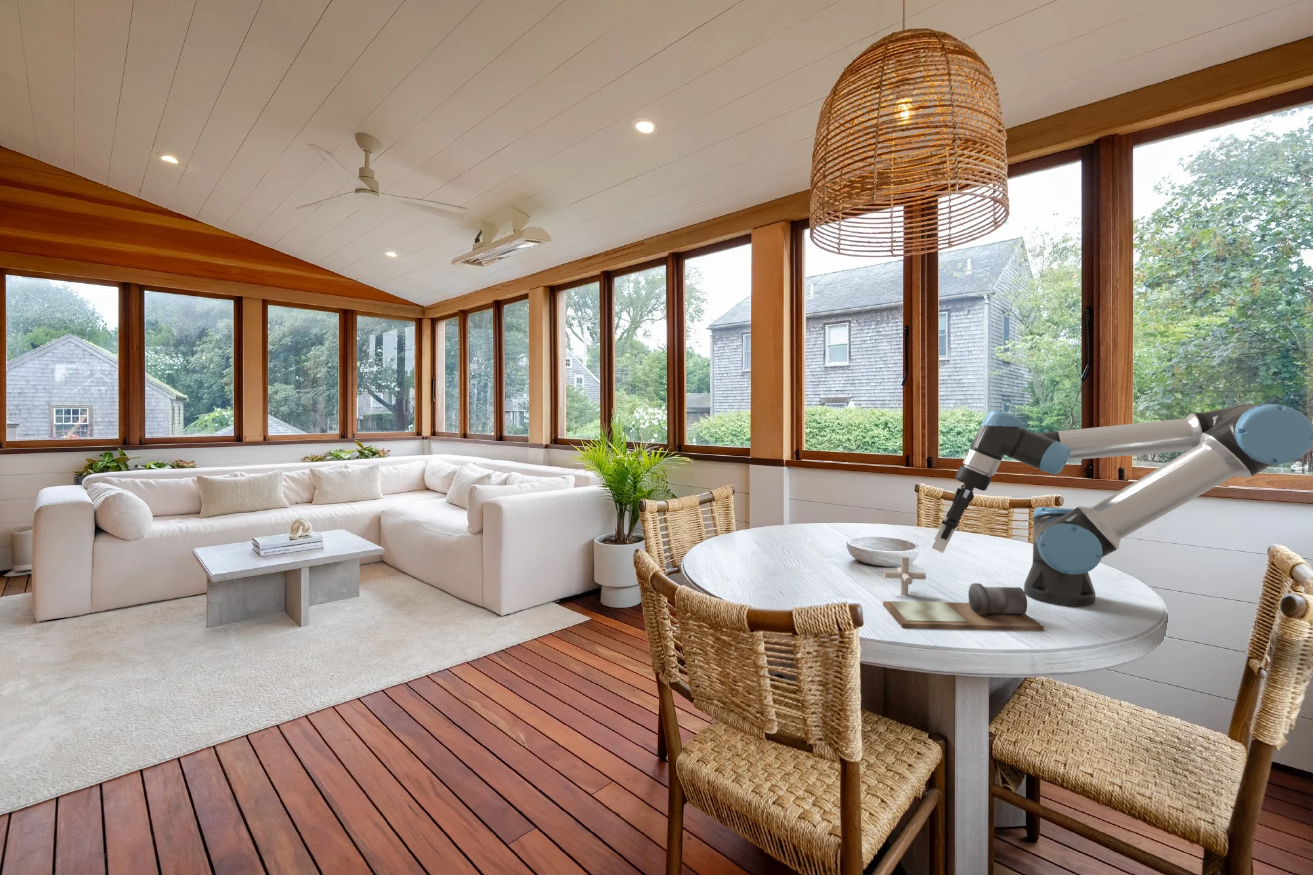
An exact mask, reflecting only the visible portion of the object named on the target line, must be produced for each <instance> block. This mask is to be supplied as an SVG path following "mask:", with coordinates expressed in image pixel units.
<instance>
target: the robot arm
mask: <svg viewBox="0 0 1313 875" xmlns="http://www.w3.org/2000/svg"><path fill="white" fill-rule="evenodd" d="M1021 424H1022V420H1021V419H1020V418H1019V417H1017V416H1014V415H1011V414H1010V413H1006V412H1004V411H1000V410H997V409H992V410H990V411H988V412H987V414H986V416H985V418H984V419H983V421H982V423H981V425H980V426H979V428H978V430H977V433H976V435H975V436H974V439H973V440H972V441H971V442H972V443H971V444H970V447H969V450H968V451H964V452H963V456H965V457H964V458H963V461H962V464H963V465H961V466H959V468H958V470H957V472H956V474H955V476H954V478H955V479H956V480H957V481H958V482H960V483H963V484H962V485H960V488H959V487H957V489H956V491H955V494H954V498H953V499H952V504H951V506H950V508H949V510H948V511H947V512H946V513H947V514H946V516H945V517H944V519H942V521H941V525H940V527H939V529H938V531H937V533H936V536H935V537H934V542H933V544H932V546H931V548H932V549H933V550H935V551H937V552H940V553H942V554H944V552H945V551H946V548H947V546H948V544H949V542H950V540H951V538H952V536H953V534H954V532H955V530H956V529H957V527H958V526H959V525H958V524H959V522H960V520H961V519H962V517H963V514H964V512H965V510H967V509H968V507H969V505H970V503H971V502H972V501H973V499H974V497H975V495H974V489H976V490H980V491H982V492H983V491H986V490H988V487H989V485H990V484H991V481H992V478H991V476H992V477H993V476H995V474H996V472H997V470H998V468H999V467H1000V465H1001V462H1002V460H1003V458H1004V456H1006V457H1007V458H1010V459H1014V460H1016V461H1018V462H1020V463H1022V464H1025V465H1028V466H1030V467H1033V468H1035V469H1037V470H1039V471H1041V472H1046V473H1049V474H1051V475H1058V474H1060V473H1061V472H1062V470H1063V469H1064V467H1065V466H1066V465H1067V462H1068V461H1074V460H1089V459H1098V458H1099V459H1102V458H1112V457H1126V456H1127V457H1128V456H1140V455H1142V456H1143V455H1151V454H1152V455H1153V454H1165V453H1166V454H1167V453H1179V452H1180V453H1182V452H1183V453H1182V454H1180V455H1179V456H1177V457H1175V458H1173V459H1171V460H1170V461H1169V462H1166V463H1165V464H1163V465H1161V466H1159V467H1158V468H1156V469H1155V470H1153V471H1151V472H1149V473H1148V474H1146V475H1145V476H1143V477H1140V478H1139V479H1138V480H1135V482H1132V483H1131V484H1129V485H1126V486H1125V487H1123V488H1122V489H1120V490H1119V491H1117V492H1116V493H1113V494H1112V495H1110V496H1108V497H1107V498H1105V499H1103V500H1101V501H1100V502H1098V503H1096V504H1094V505H1093V506H1090V507H1087V506H1080V505H1079V506H1077V507H1076V508H1068V507H1067V508H1066V507H1052V506H1051V507H1050V506H1039V507H1036V508H1035V509H1034V511H1033V515H1032V520H1033V526H1032V527H1033V529H1032V530H1033V532H1032V533H1033V536H1032V538H1033V540H1032V563H1031V564H1032V565H1031V567H1030V570H1029V572H1028V574H1027V577H1026V580H1025V581H1024V585H1023V587H1024V589H1023V591H1024V593H1025V595H1026V596H1028V597H1030V598H1032V599H1035V600H1037V601H1040V602H1045V603H1049V604H1054V605H1061V606H1070V607H1074V606H1075V607H1085V606H1086V607H1087V606H1092V605H1094V604H1095V603H1096V591H1095V587H1094V585H1093V582H1092V579H1091V577H1090V574H1089V572H1090V571H1092V570H1094V569H1095V568H1096V567H1097V566H1098V565H1099V564H1100V562H1101V561H1102V558H1104V557H1106V556H1108V555H1110V554H1111V553H1113V552H1115V551H1117V550H1119V548H1120V542H1121V540H1122V539H1123V538H1125V537H1127V536H1128V535H1130V534H1132V533H1134V532H1136V531H1138V530H1139V529H1142V528H1143V527H1145V526H1146V525H1149V524H1151V523H1152V522H1154V521H1156V520H1157V519H1159V518H1161V517H1163V516H1165V515H1167V514H1169V513H1171V512H1172V511H1174V510H1176V509H1178V508H1179V507H1181V506H1183V505H1185V504H1187V503H1188V502H1190V501H1192V500H1194V499H1195V498H1198V497H1199V496H1201V495H1202V494H1205V493H1207V492H1208V491H1210V490H1212V489H1214V488H1215V487H1217V486H1220V485H1221V484H1223V483H1225V482H1227V481H1229V480H1230V479H1232V478H1236V477H1239V478H1240V477H1241V478H1251V477H1253V476H1255V475H1257V474H1259V473H1261V472H1262V471H1264V470H1266V469H1268V468H1269V467H1272V466H1273V465H1283V464H1287V463H1291V462H1293V461H1296V460H1298V459H1300V458H1301V457H1303V456H1304V455H1306V454H1307V453H1308V452H1309V450H1310V449H1311V448H1312V446H1313V424H1312V422H1311V421H1310V419H1309V418H1308V417H1307V416H1306V415H1305V414H1304V413H1303V412H1300V411H1299V410H1297V409H1295V408H1292V407H1289V406H1286V405H1283V404H1278V403H1263V404H1253V403H1252V404H1251V403H1249V404H1239V405H1233V406H1229V407H1225V408H1221V409H1214V410H1209V411H1204V412H1203V411H1202V412H1195V413H1193V412H1192V413H1190V414H1189V415H1187V416H1186V417H1185V418H1180V419H1179V418H1177V419H1168V420H1167V419H1166V420H1157V421H1148V422H1137V423H1129V424H1118V425H1117V424H1116V425H1108V426H1099V427H1098V426H1097V427H1089V428H1088V427H1087V428H1080V429H1079V428H1077V429H1068V430H1058V431H1050V432H1048V431H1047V432H1032V431H1029V430H1026V429H1024V428H1023V427H1021Z"/></svg>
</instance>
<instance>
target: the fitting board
mask: <svg viewBox="0 0 1313 875" xmlns="http://www.w3.org/2000/svg"><path fill="white" fill-rule="evenodd" d="M967 595H968V602H955V601H954V602H953V601H952V602H951V601H949V602H947V601H903V600H902V601H901V600H900V601H899V600H898V601H897V600H896V601H895V600H894V601H893V600H892V601H891V600H889V601H887V600H886V601H884V600H883V602H882V606H883V607H884V608H885V609H886V611H887V612H888V613H889V614H890V615H891V616H892V617H893V619H894V620H895V621H896V622H897V624H898V625H899V626H900V625H901V626H900V627H901V628H902V627H903V628H902V629H935V630H937V629H940V630H941V629H944V630H985V631H986V630H987V631H988V630H990V631H992V630H993V631H1027V632H1028V631H1029V632H1030V631H1032V632H1033V631H1034V632H1035V631H1040V632H1041V631H1042V632H1043V631H1044V630H1045V625H1042V623H1039V622H1038V621H1037V620H1036V619H1034V618H1032V617H1031V616H1029V615H1028V614H1027V613H1026V612H1027V610H1028V599H1027V595H1026V594H1025V593H1024V589H1022V588H1021V587H1012V586H1011V587H1009V586H1005V587H1003V586H984V585H983V584H981V583H979V582H977V583H971V584H970V585H969V588H968V594H967Z"/></svg>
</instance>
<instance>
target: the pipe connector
mask: <svg viewBox="0 0 1313 875" xmlns="http://www.w3.org/2000/svg"><path fill="white" fill-rule="evenodd" d="M883 577H884V578H885V579H899V580H900V595H901V596H908V595H909V585H910V586H911V585H912V584H913V580H926V578H927V576H926V572H919V571H918V572H917V571H909V556H907V555H901V556H900V566H899V567H898V568H897V569H896V571H895V570H894V571H890V570H889V571H888V570H884V571H883Z"/></svg>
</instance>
